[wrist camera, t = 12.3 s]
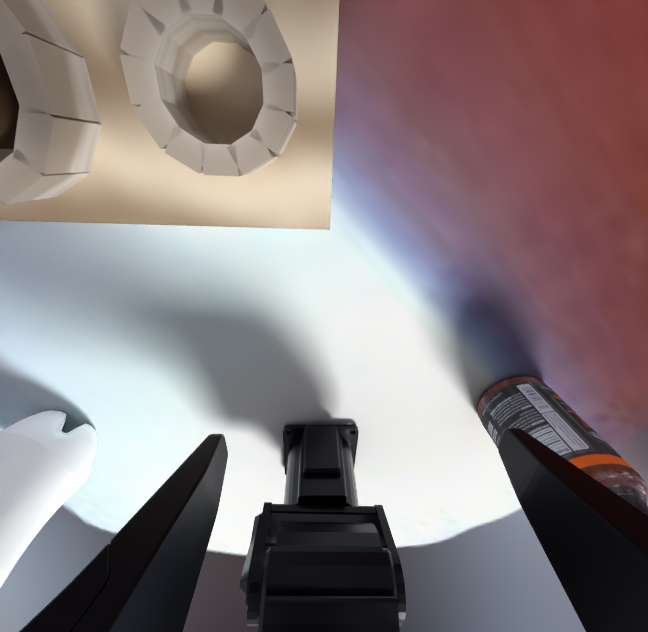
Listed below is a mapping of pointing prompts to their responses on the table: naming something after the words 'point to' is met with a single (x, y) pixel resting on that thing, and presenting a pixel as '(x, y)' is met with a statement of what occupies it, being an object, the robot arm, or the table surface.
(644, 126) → the table surface
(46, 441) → the water bottle
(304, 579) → the robot arm
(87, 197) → the two-ring peg board
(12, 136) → the walnut peg
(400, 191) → the table surface
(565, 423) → the supplement bottle
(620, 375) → the table surface
